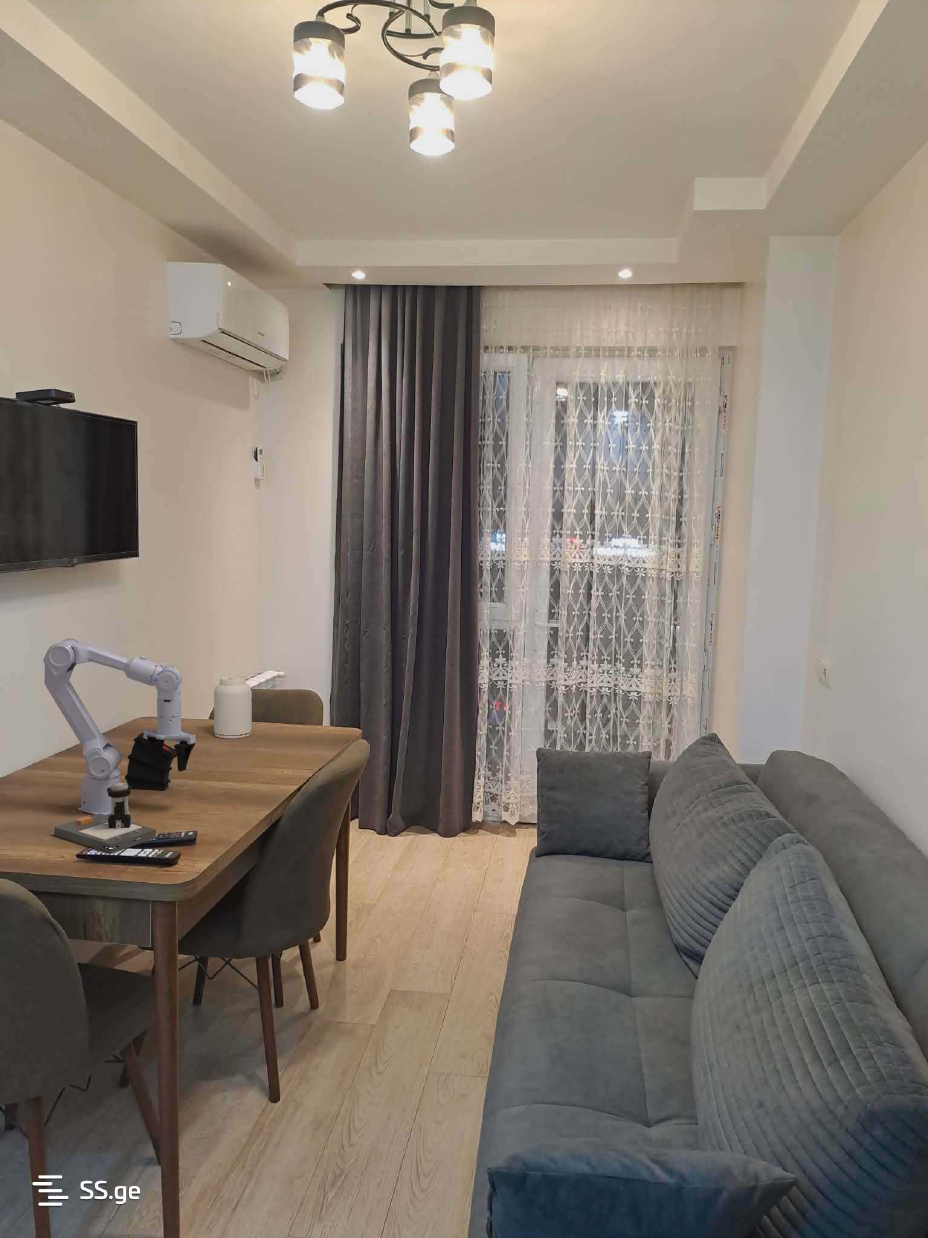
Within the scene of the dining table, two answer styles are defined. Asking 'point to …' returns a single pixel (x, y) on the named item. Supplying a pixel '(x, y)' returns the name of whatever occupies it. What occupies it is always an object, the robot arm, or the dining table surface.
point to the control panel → (103, 833)
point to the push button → (119, 806)
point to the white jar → (232, 707)
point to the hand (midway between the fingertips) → (169, 768)
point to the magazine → (148, 767)
